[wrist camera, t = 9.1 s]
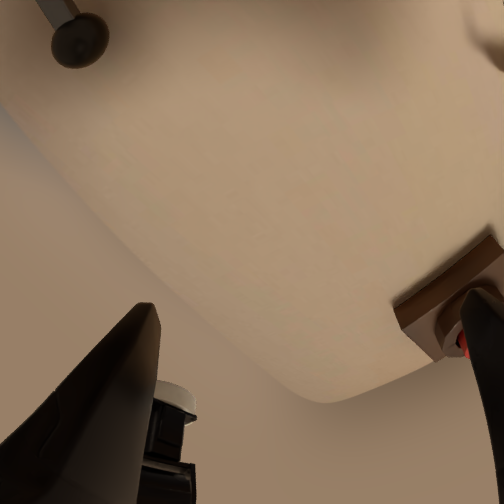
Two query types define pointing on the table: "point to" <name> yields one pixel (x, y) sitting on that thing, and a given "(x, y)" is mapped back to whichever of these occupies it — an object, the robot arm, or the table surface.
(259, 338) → the table surface
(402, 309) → the button block
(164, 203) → the table surface
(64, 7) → the lever
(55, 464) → the robot arm
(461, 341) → the button
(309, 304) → the table surface
